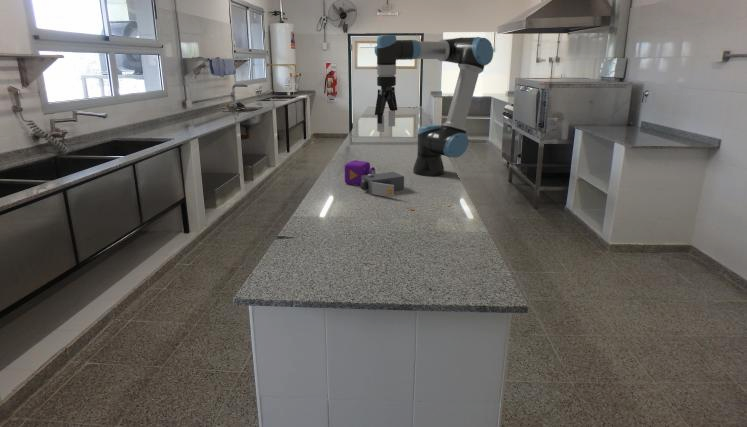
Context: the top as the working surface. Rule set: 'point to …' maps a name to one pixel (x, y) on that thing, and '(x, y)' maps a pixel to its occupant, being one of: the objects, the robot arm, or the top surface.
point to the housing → (382, 180)
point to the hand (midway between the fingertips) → (386, 128)
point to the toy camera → (357, 171)
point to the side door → (382, 189)
